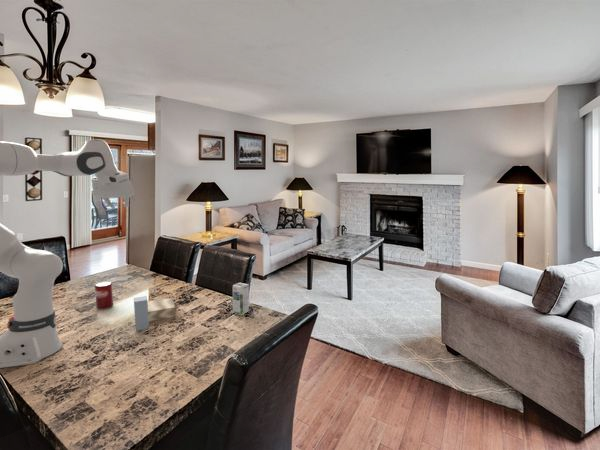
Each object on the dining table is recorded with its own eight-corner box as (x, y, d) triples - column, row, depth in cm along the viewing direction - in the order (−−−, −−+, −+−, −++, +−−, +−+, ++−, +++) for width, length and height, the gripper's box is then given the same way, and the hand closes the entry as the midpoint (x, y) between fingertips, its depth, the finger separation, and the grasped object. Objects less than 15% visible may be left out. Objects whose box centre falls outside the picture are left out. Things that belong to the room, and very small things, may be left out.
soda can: (105, 310, 157) (103, 286, 155) (92, 309, 158) (90, 285, 156) (116, 304, 164) (115, 282, 162) (104, 303, 165) (102, 281, 163)
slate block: (135, 331, 137) (134, 301, 135) (135, 326, 141) (133, 297, 139) (148, 328, 139) (147, 299, 138) (147, 323, 144) (146, 296, 142)
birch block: (145, 322, 146) (144, 312, 145) (143, 312, 157) (142, 302, 156) (175, 317, 152) (175, 307, 151) (171, 307, 163) (171, 297, 162)
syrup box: (232, 314, 156) (231, 285, 153) (240, 309, 161) (239, 281, 159) (241, 316, 153) (241, 287, 151) (249, 312, 158) (249, 283, 156)
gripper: (84, 179, 142) (95, 208, 148) (120, 178, 136) (130, 208, 141) (96, 175, 148) (107, 203, 153) (131, 174, 141) (141, 203, 147)
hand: (118, 206), depth 147 cm, fingers open, 8 cm apart
